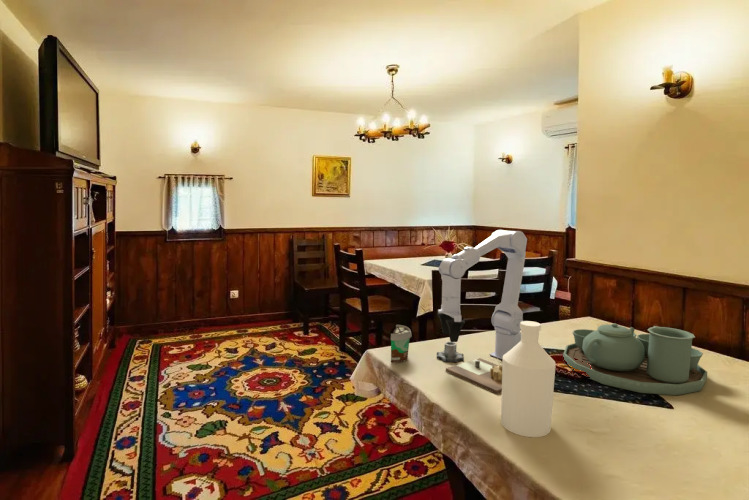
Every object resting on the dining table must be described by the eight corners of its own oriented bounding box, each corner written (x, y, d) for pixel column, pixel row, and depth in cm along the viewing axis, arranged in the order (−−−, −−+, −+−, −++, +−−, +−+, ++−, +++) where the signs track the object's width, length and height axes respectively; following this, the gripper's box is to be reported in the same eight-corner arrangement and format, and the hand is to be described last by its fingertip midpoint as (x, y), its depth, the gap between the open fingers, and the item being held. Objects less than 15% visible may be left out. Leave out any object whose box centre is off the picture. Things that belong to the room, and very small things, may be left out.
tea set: (712, 369, 143) (717, 320, 141) (694, 411, 114) (699, 349, 112) (584, 342, 170) (587, 300, 168) (543, 370, 141) (546, 320, 139)
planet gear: (450, 351, 157) (450, 337, 156) (469, 358, 149) (469, 344, 149) (431, 356, 152) (431, 342, 151) (450, 364, 144) (450, 349, 144)
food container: (408, 365, 143) (409, 335, 142) (390, 363, 144) (390, 334, 143) (413, 352, 155) (413, 325, 154) (395, 351, 156) (396, 324, 155)
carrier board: (479, 361, 148) (480, 348, 147) (531, 380, 131) (532, 366, 131) (445, 371, 138) (446, 357, 138) (496, 394, 122) (497, 378, 122)
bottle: (523, 442, 98) (529, 333, 95) (489, 418, 108) (493, 319, 106) (563, 431, 102) (569, 327, 100) (526, 409, 113) (531, 315, 110)
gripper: (432, 291, 145) (431, 331, 146) (445, 301, 131) (444, 345, 132) (453, 291, 146) (452, 330, 147) (468, 301, 132) (467, 344, 133)
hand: (450, 337), depth 140 cm, fingers open, 7 cm apart
